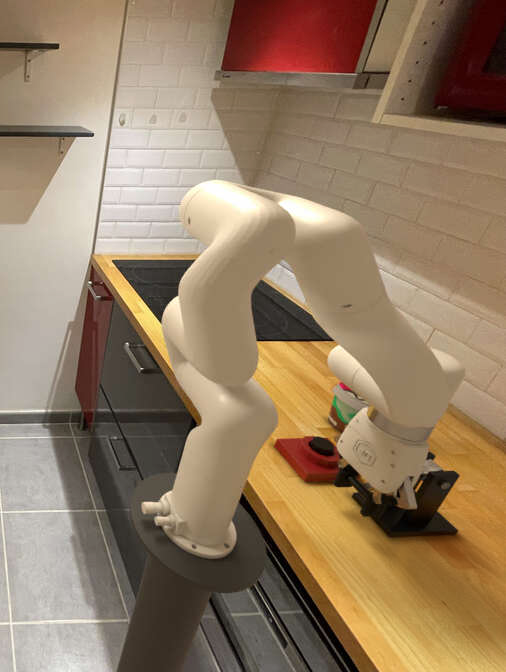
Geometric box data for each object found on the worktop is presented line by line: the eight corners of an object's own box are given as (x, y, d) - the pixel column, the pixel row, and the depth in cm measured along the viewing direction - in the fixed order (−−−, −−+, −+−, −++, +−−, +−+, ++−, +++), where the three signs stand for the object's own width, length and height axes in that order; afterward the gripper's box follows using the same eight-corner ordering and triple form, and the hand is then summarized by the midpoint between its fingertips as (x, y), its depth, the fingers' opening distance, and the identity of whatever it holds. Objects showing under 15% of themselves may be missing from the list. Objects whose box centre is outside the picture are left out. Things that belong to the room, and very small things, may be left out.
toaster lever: (369, 507, 75) (369, 498, 74) (345, 482, 80) (345, 473, 79) (451, 485, 74) (452, 476, 73) (421, 461, 78) (422, 452, 77)
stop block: (304, 482, 86) (311, 467, 85) (273, 446, 95) (279, 432, 93) (358, 480, 87) (366, 465, 85) (323, 445, 95) (330, 430, 93)
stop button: (318, 456, 87) (321, 450, 87) (305, 442, 91) (308, 436, 90) (336, 456, 88) (339, 449, 87) (322, 442, 91) (325, 436, 90)
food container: (325, 435, 98) (342, 399, 93) (319, 417, 103) (335, 382, 98) (397, 455, 93) (417, 418, 89) (387, 435, 98) (406, 399, 94)
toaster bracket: (389, 537, 76) (421, 484, 71) (351, 496, 83) (377, 445, 78) (455, 535, 77) (492, 482, 71) (412, 495, 84) (442, 444, 79)
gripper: (333, 385, 78) (299, 461, 85) (428, 463, 62) (377, 548, 70) (374, 384, 78) (337, 460, 86) (479, 462, 63) (422, 546, 70)
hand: (355, 499), depth 78 cm, fingers closed on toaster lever, 5 cm apart
